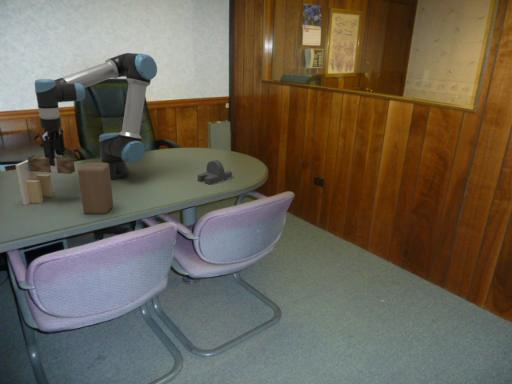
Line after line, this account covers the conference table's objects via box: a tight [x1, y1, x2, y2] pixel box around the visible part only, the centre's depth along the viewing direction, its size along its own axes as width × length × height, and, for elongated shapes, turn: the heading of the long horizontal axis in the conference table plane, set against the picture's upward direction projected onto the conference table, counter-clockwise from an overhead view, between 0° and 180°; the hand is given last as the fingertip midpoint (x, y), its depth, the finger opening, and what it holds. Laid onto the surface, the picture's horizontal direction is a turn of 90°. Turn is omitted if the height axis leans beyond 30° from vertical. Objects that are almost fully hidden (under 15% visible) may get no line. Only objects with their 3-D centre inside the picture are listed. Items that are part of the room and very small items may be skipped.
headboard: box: [15, 159, 54, 206], centre depth 170 cm, size 6×15×18 cm, turn 177°
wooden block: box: [77, 162, 114, 215], centre depth 161 cm, size 10×10×20 cm
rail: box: [27, 154, 76, 175], centre depth 166 cm, size 18×4×6 cm, turn 87°
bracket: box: [197, 159, 233, 186], centre depth 207 cm, size 10×18×11 cm, turn 140°
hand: (57, 170), depth 167 cm, fingers closed on rail, 4 cm apart
